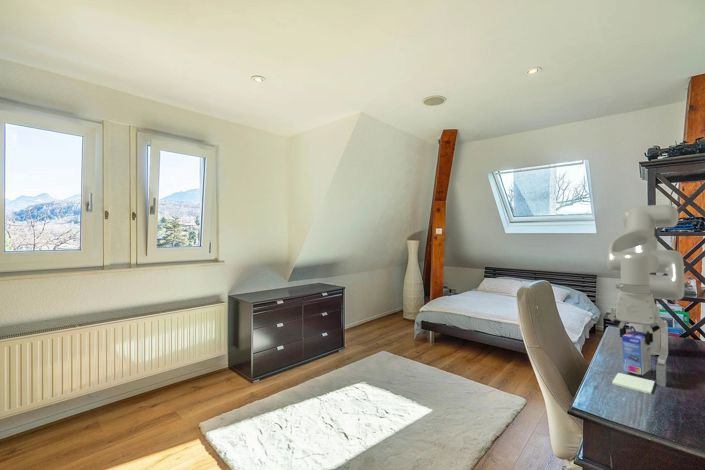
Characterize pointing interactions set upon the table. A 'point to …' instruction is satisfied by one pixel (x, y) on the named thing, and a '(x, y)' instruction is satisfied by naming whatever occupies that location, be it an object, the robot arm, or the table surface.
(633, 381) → the felt pad
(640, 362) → the ink cartridge box
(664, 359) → the grey angled frame
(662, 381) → the rail block
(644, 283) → the robot arm
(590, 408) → the table surface
